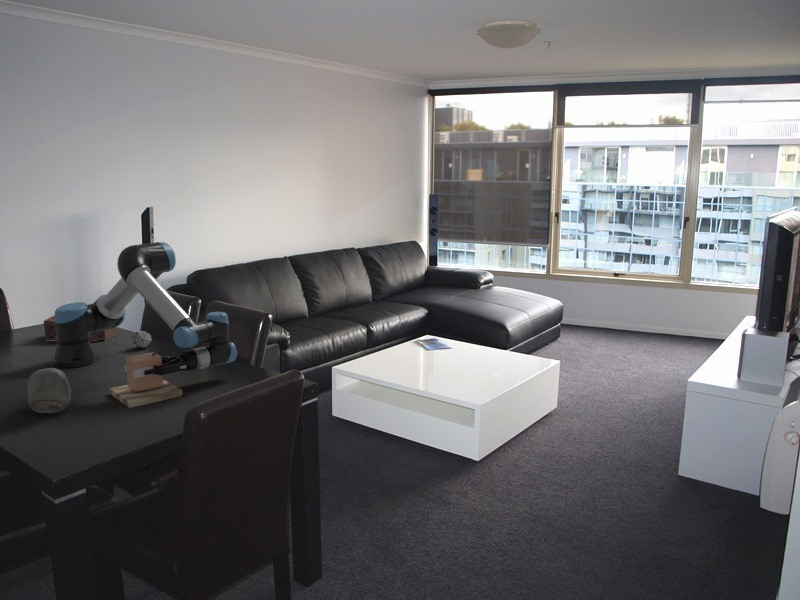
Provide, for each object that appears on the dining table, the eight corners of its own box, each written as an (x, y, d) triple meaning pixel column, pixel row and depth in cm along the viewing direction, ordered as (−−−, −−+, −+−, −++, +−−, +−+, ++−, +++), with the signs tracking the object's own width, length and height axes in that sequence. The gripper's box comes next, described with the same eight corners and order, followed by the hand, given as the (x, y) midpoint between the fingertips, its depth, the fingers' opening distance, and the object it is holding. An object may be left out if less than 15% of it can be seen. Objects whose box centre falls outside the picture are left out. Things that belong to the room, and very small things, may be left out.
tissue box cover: (45, 342, 293) (43, 320, 291) (59, 334, 307) (57, 313, 305) (105, 341, 295) (103, 320, 293) (116, 333, 309) (114, 313, 308)
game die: (148, 356, 286) (161, 338, 284) (132, 353, 278) (145, 335, 277) (140, 342, 290) (152, 325, 288) (123, 340, 283) (136, 322, 281)
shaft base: (110, 393, 226) (107, 367, 224) (161, 383, 238) (159, 357, 236) (129, 408, 213) (127, 380, 211) (182, 395, 225) (180, 369, 223)
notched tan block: (128, 386, 224) (125, 355, 222) (155, 381, 230) (153, 350, 228) (135, 391, 219) (133, 359, 217) (163, 385, 225) (161, 354, 223)
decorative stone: (72, 398, 222) (68, 355, 219) (72, 415, 206) (67, 369, 203) (32, 403, 216) (27, 359, 213) (28, 421, 201) (23, 374, 198)
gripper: (207, 375, 229) (141, 389, 214) (183, 363, 243) (119, 375, 228) (206, 354, 227) (139, 367, 212) (182, 343, 242) (118, 354, 227)
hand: (129, 371), depth 220 cm, fingers open, 7 cm apart
